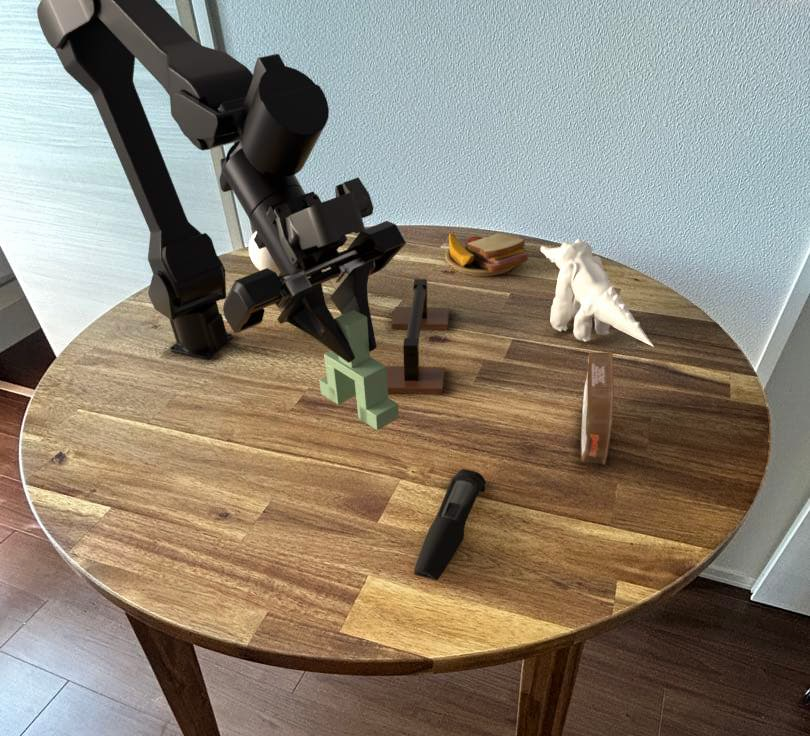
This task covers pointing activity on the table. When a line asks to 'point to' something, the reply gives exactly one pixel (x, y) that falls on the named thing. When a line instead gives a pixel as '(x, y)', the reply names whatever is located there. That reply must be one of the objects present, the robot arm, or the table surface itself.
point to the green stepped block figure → (359, 375)
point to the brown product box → (597, 408)
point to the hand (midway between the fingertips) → (362, 355)
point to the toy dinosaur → (587, 295)
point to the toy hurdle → (417, 345)
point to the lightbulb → (261, 257)
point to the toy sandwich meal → (485, 254)
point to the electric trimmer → (449, 524)
